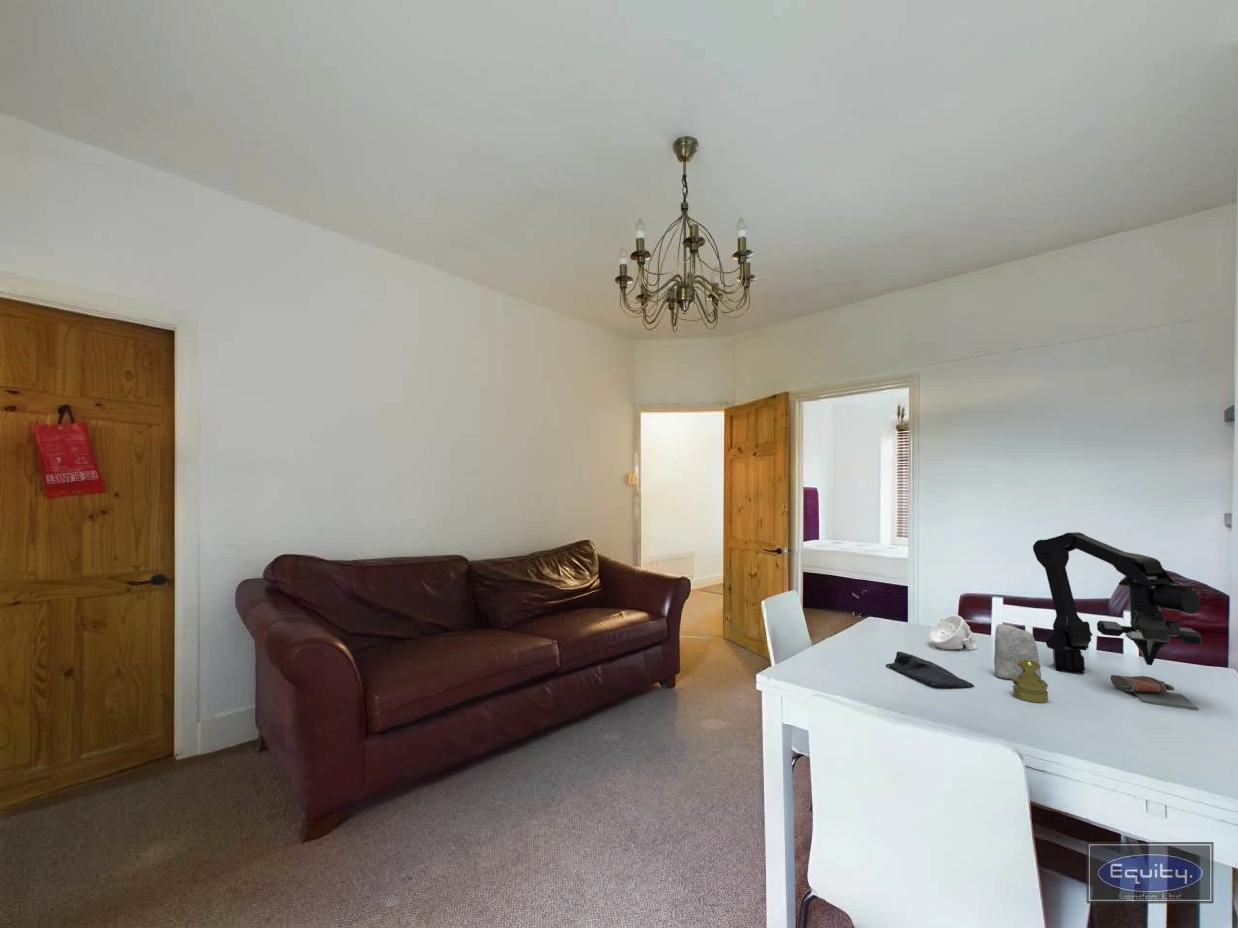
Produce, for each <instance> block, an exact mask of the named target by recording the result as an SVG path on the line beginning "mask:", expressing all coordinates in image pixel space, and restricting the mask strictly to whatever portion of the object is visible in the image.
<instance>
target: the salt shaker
mask: <svg viewBox="0 0 1238 928" xmlns="http://www.w3.org/2000/svg"><path fill="white" fill-rule="evenodd" d="M1017 664H1018V665H1019V666H1020V667H1021V668H1022V670H1023V671H1022V672H1021V673H1020V674H1018V675H1017V676H1014V677H1013V678H1012V679H1011V681H1012V684H1013V685H1012V691H1013V692H1012V693H1013V695H1014V697H1016V698H1018V699H1019V700H1023V701H1026V702H1029V703H1037V704H1038V703H1039V704H1041V703H1043V704H1044V703H1048V702H1049V692H1048V691H1047V690H1048V685H1049V684H1048V683H1047V682H1046V681H1045V680H1044V679H1042V677H1041V678H1040V677H1039V676H1038V675H1037V674H1036V673H1035V672H1036V670H1037V669H1039V668H1040V669H1041V664H1040V663H1039V664H1038V663H1037V662H1034V661H1033V660H1031V659H1024V660H1019V661H1017Z"/></svg>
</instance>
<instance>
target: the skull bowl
mask: <svg viewBox="0 0 1238 928" xmlns="http://www.w3.org/2000/svg"><path fill="white" fill-rule="evenodd" d="M928 635H929V636H928V639H929V640H930V641H931V642H932V643H933V645H934V646H935V647H936V648H937V647H938V648H940V649H942V650H955V649H956V650H962V649H963V648H964V646H965V647H966V650H969V651H975V650H977V649H978V647H977V645H976V644H975V642H976V637H975V635H974V633H973V632H972V630H971V627H970V626H969V625H968V624H967V622H966V620H964V618H963V617H962V616H960V615H957V614H951V615H948V616H946V617H944V618H942V619H941V620H940V621H938V622H937V623H936V624H934V626H933V627H932V628H931V630H930V632H929V634H928Z"/></svg>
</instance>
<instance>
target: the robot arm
mask: <svg viewBox="0 0 1238 928" xmlns="http://www.w3.org/2000/svg"><path fill="white" fill-rule="evenodd" d="M1032 550H1033V554H1034V556H1035V558H1036V560H1037V561H1038V563H1039V564H1041V566H1042V567H1043V568H1044V570H1045V573H1046V578H1047V581H1048V586H1049V590H1050V594H1051V597H1052V602H1053V605H1054V607H1053V608H1054V610H1055V615H1056V617H1055V619H1054V621H1053V624H1052V632H1053V633H1052V635H1050V636H1049V637H1047V639H1044V640H1045V644H1046V647H1047V648H1048V649H1051V650H1052V658H1053V659H1052V660H1053V662H1052V666H1053V668H1054V669H1055V670H1056V671H1057V672H1067V673H1073V674H1082V675H1084V674H1085V671H1086V669H1085V666H1086V665H1085V657H1084V656H1083V655H1082V651H1087V648H1088V646H1089V643H1091V642H1092V637H1093V633H1092V631H1091V628H1090V626H1091V625H1090V623H1089V621H1083V620H1082V618H1081V617H1080V616H1079V615H1078V612H1077V609H1076V604H1075V600H1074V597H1073V592H1072V588H1071V584H1070V580H1069V577H1068V572H1067V568H1066V567H1067V564H1068V562H1069V560H1070V552H1072V551H1075V550H1078V551H1081V552H1083V553H1086V554H1088V555H1090V556H1092V557H1095V558H1097V559H1098V560H1101V561H1103V562H1105V563H1107V564H1109V565H1111V566H1113V568H1115V570H1116V571H1117V572H1118V573H1120V574H1121V575H1122V576H1125V578H1124V579H1122V580H1121V581H1119V582H1118V585H1120V586H1126V587H1128V596H1129V597H1128V599H1129V601H1128V602H1129V606H1128V608H1129V614H1130V622H1129V624H1130V626H1129V625H1121V624H1119V623H1118V622H1117V621H1109V620H1099V621H1097V623H1096V629H1097V630H1096V631H1098V632H1099V633H1100V634H1101V635H1104V636H1110V637H1111V636H1112V637H1120V636H1121V635H1122V634H1125V637H1126V638H1128V639H1129V640H1130V641H1132V642H1134V644H1135V646H1136V647H1137V649H1138V651H1139V653H1140V654H1141V656H1142V658H1143V660H1144V663H1146V665H1147V666H1153V663H1154V661H1155V660H1156V657H1157V655H1158V653H1159V651H1160V650H1161V648H1162V647H1163V646H1165V645H1170V644H1171V642H1170V638H1174V639H1180V640H1181V641H1183V643H1185V644H1196V645H1203V638H1202V635H1201V634H1200V633H1199V632H1197V631H1196V630H1194V629H1192V628H1189V627H1180V623H1179V621H1176V620H1165V619H1164V617H1163V612H1162V611H1161V609H1164V610H1169V611H1174V612H1175V611H1176V612H1181V613H1186V614H1192V615H1193V614H1195V613H1198V611H1199V610H1200V608H1201V605H1202V604H1201V603H1202V601H1201V598H1200V596H1199V595H1198V593H1197V592H1195V591H1194V590H1193V586H1192V585H1190V584H1177V583H1176V582H1175V580H1174V579H1173V578H1172V577H1171V575H1170V574H1169V573H1168V572H1167V571H1166V570H1165V569H1164V567H1163V565H1162V564H1161V561H1160V560H1158V559H1157V558H1154V557H1151V556H1147V555H1143V554H1139V553H1133V552H1127V551H1124V550H1122V549H1120V548H1117V547H1115V546H1112V545H1109V544H1107V543H1104V542H1102V541H1100V540H1098V539H1095V538H1092V537H1090V536H1088V535H1086V534H1084V533H1082V532H1078V531H1076V532H1074V531H1073V532H1066V533H1064V534H1061V535H1057V536H1055V537H1051V538H1048V539H1039V540H1036V541H1035V542H1034V544H1033V545H1032Z"/></svg>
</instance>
